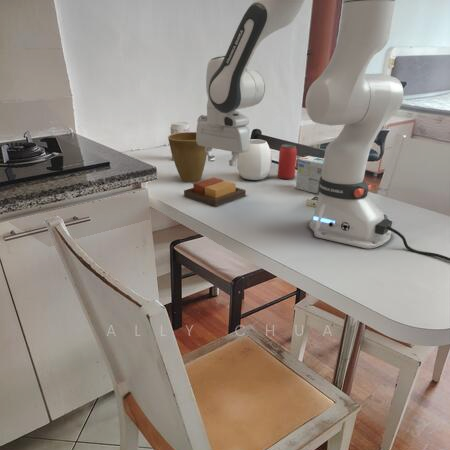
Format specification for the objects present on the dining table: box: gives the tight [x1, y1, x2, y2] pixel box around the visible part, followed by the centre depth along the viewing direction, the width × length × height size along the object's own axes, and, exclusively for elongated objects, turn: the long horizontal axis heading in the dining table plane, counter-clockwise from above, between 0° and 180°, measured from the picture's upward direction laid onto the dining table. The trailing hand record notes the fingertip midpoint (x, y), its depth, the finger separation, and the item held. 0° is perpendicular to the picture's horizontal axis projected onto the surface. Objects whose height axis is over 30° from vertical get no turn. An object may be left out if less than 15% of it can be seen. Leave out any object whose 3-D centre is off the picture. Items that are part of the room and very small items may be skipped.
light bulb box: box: [295, 155, 324, 195], centre depth 145 cm, size 11×7×11 cm, turn 47°
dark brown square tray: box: [183, 186, 247, 208], centre depth 141 cm, size 15×15×2 cm
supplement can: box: [169, 121, 191, 159], centre depth 181 cm, size 8×8×15 cm
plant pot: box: [167, 131, 208, 183], centre depth 154 cm, size 15×15×16 cm
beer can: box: [277, 143, 298, 180], centre depth 158 cm, size 7×7×12 cm
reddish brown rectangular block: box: [192, 177, 225, 195], centre depth 142 cm, size 5×10×4 cm, turn 137°
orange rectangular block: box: [205, 180, 237, 198], centre depth 138 cm, size 5×10×4 cm, turn 138°
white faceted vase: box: [236, 138, 273, 181], centre depth 157 cm, size 13×13×14 cm
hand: (221, 163), depth 133 cm, fingers open, 8 cm apart
